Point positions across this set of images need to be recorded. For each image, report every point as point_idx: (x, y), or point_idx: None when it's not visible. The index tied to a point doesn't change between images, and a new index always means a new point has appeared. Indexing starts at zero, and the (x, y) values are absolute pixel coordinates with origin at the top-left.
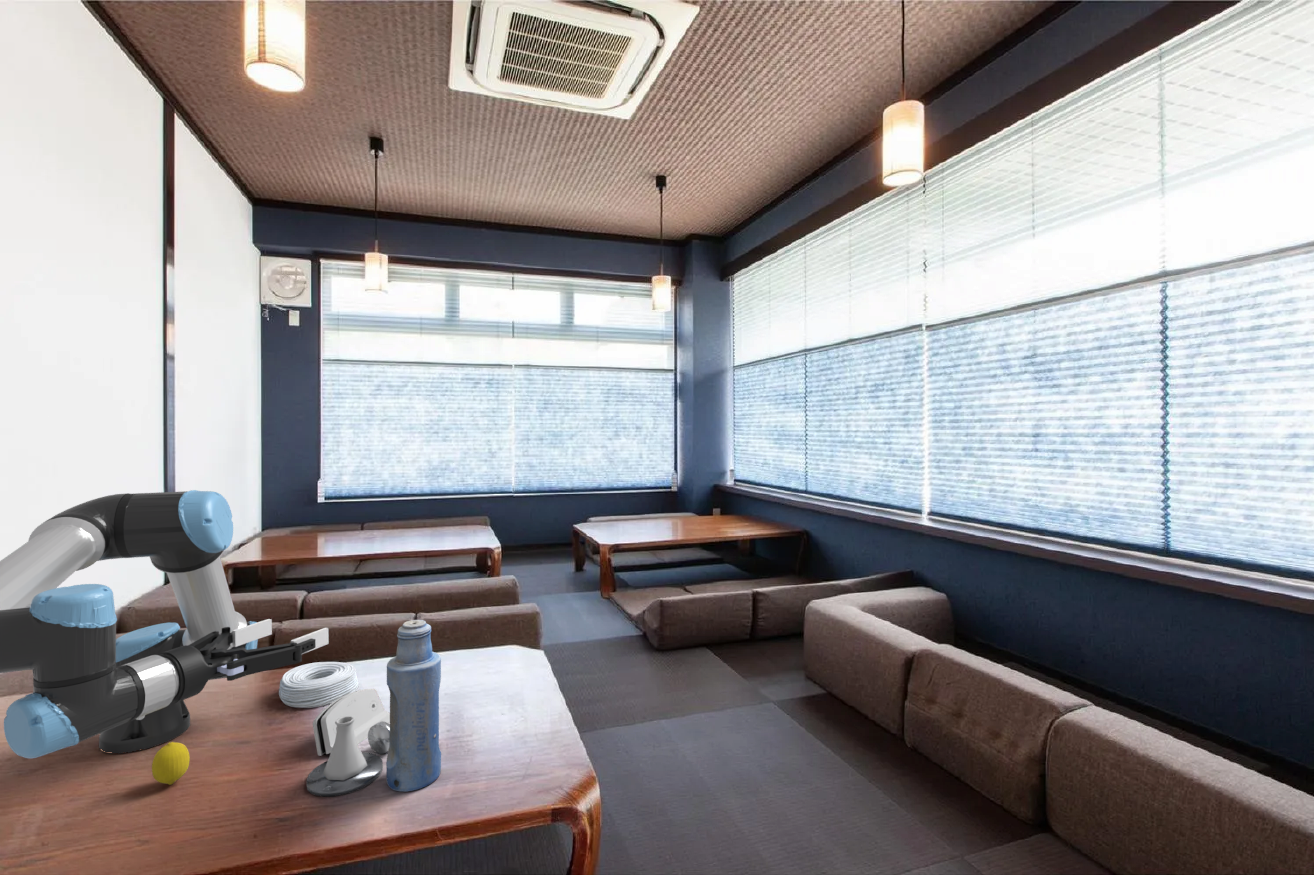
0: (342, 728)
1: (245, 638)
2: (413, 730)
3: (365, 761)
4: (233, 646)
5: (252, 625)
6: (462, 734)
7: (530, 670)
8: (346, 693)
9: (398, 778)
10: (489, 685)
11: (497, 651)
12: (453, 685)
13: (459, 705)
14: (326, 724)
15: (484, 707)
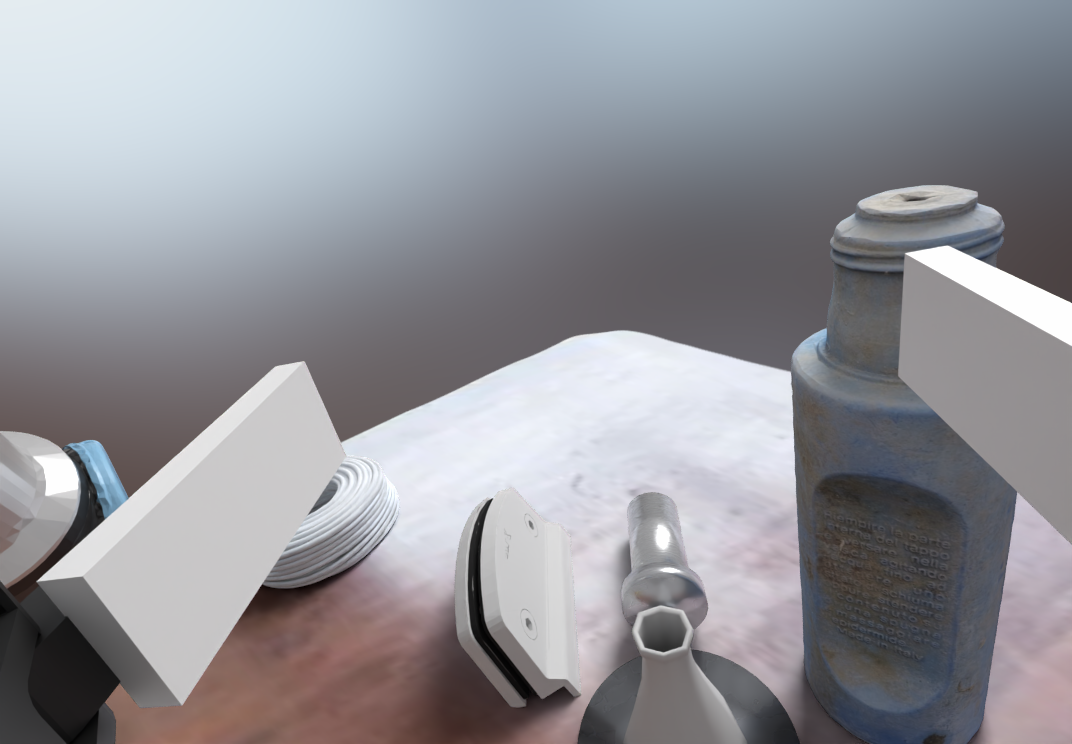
0: (679, 662)
1: (222, 577)
2: (999, 588)
3: (720, 694)
4: (153, 706)
5: (214, 447)
6: (783, 509)
7: (680, 353)
8: (393, 513)
9: (944, 729)
10: (653, 399)
11: (567, 348)
12: (583, 422)
13: (661, 453)
14: (511, 633)
15: (719, 439)
